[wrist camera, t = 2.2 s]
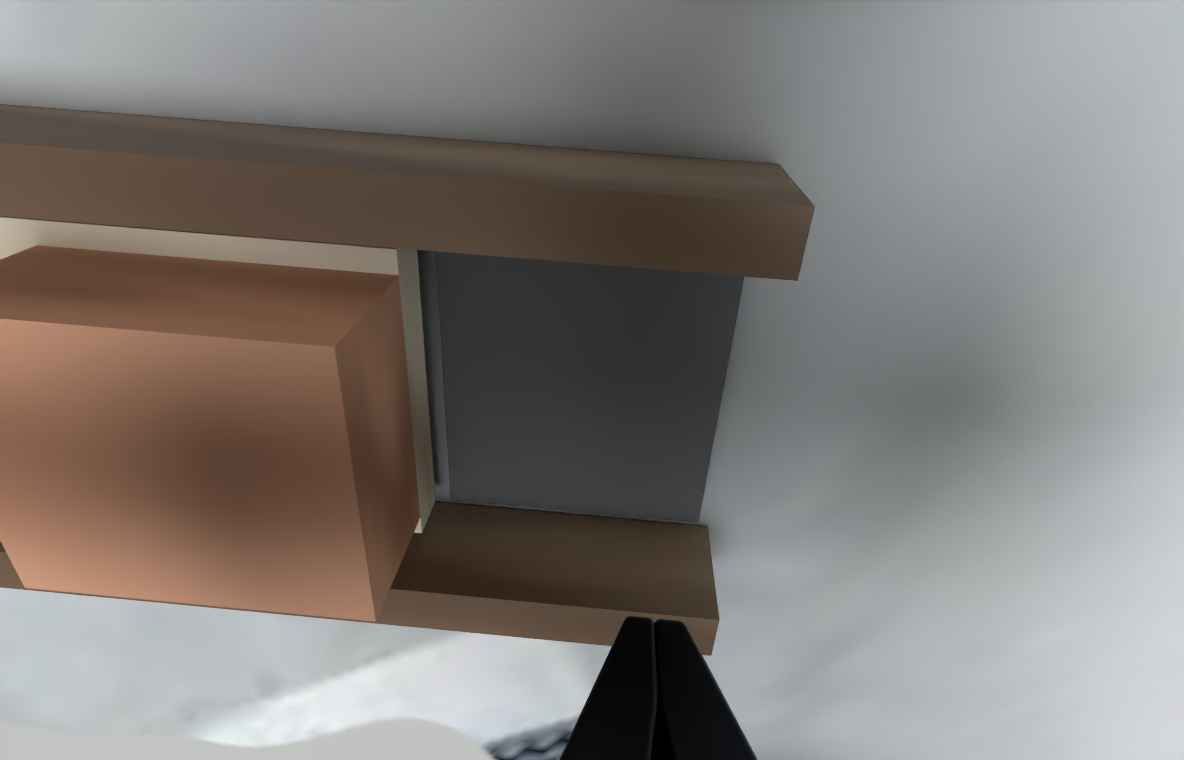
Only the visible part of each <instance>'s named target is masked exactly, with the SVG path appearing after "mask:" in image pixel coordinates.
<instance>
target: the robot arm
mask: <svg viewBox="0 0 1184 760" xmlns="http://www.w3.org/2000/svg"><path fill="white" fill-rule="evenodd" d="M559 760H757V758H756V756H755V754H754V752H753V750H752V748H751V747H750V745H749V743H748V741H747V739H746V737H745V735H744V733H743V731H742V730H741V728H740V726H739V724H738V722H737V720H736V718H735V716H734V714H733V712H732V711H731V709H730V707H729V705H728V703H727V701H726V699H725V697H724V695H723V694H722V692H721V690H720V688H719V686H718V684H717V682H716V680H715V678H714V677H713V675H712V673H711V671H710V669H709V667H708V665H707V663H706V661H705V660H704V658H703V656H702V654H701V652H700V650H699V648H698V646H697V644H696V642H695V641H694V639H693V637H692V635H691V633H690V631H689V629H688V627H687V626H686V624H685V623H684V622H682V621H678V620H668V619H658V620H656V622H654V620H653V619H651V618H647V617H636V616H628V617H626V618H625V620H624V622H623V624H622V626H621V628H620V630H619V632H618V634H617V637H616V639H615V641H614V643H613V645H612V647H611V650H610V652H609V654H608V656H607V658H606V660H605V662H604V665H603V667H602V669H601V671H600V673H599V675H598V678H597V680H596V682H595V684H594V686H593V688H592V690H591V693H590V695H589V697H588V699H587V701H586V703H585V706H584V708H583V710H582V712H581V714H580V716H579V719H578V721H577V723H576V725H575V727H574V729H573V731H572V734H571V736H570V738H569V740H568V742H567V744H566V747H565V749H564V751H563V753H562V755H561V757H560V759H559Z"/></svg>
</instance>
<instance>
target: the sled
mask: <svg viewBox="0 0 1184 760" xmlns="http://www.w3.org/2000/svg"><path fill="white" fill-rule="evenodd" d="M435 500H436V499H435V486H434V472H433V459H432V445H431V432H430V418H429V404H428V391H427V377H426V364H425V350H424V337H423V323H422V310H421V296H420V283H419V269H418V256H417V250H414V249H401V248H389V247H377V246H364V245H352V244H340V243H327V242H315V241H303V240H291V239H278V238H266V237H254V236H241V235H229V234H217V233H204V232H192V231H180V230H167V229H155V228H143V227H130V226H118V225H106V224H94V223H81V222H69V221H57V220H44V219H32V218H20V217H7V216H0V541H1V543H2V545H3V547H4V549H5V551H6V553H7V555H8V556H9V558H10V560H11V562H12V564H13V566H14V568H15V570H16V572H17V574H18V576H19V578H20V580H21V581H22V583H23V585H24V587H25V588H30V589H41V590H51V591H62V592H72V593H82V594H93V595H103V596H114V597H124V598H134V599H145V600H155V601H166V602H176V603H187V604H197V605H207V606H218V607H228V608H239V609H249V610H259V611H270V612H280V613H291V614H301V615H311V616H322V617H332V618H343V619H353V620H363V621H374V622H376V620H377V617H378V615H379V613H380V610H381V608H382V606H383V604H384V601H385V599H386V597H387V594H388V592H389V590H390V587H391V585H392V583H393V580H394V578H395V576H396V573H397V571H398V569H399V566H400V564H401V562H402V559H403V557H404V555H405V552H406V550H407V548H408V545H409V543H410V541H411V538H412V536H413V534H414V533H422V532H423V530H424V527H425V525H426V522H427V520H428V517H429V515H430V513H431V510H432V508H433V505H434V503H435Z"/></svg>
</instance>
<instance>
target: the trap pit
mask: <svg viewBox="0 0 1184 760" xmlns="http://www.w3.org/2000/svg"><path fill="white" fill-rule="evenodd" d="M436 261H437V278H438V294H439V311H440V328H441V345H442V362H443V379H444V396H445V413H446V430H447V447H448V463H449V480H450V497H451V500H459V501H470V502H481V503H492V504H503V505H514V506H525V507H536V508H547V509H558V510H569V511H580V512H591V513H602V514H613V515H624V516H635V517H646V518H657V519H668V520H679V521H690V522H698V521H699V515H700V510H701V505H702V499H703V494H704V489H705V483H706V478H707V473H708V467H709V462H710V457H711V451H712V446H713V441H714V435H715V430H716V425H717V419H718V414H719V408H720V403H721V398H722V392H723V387H724V382H725V376H726V371H727V366H728V360H729V355H730V350H731V344H732V339H733V334H734V328H735V323H736V318H737V312H738V307H739V302H740V296H741V291H742V286H743V280H744V276H734V275H722V274H709V273H697V272H685V271H672V270H660V269H648V268H635V267H623V266H611V265H598V264H586V263H574V262H561V261H549V260H537V259H525V258H512V257H500V256H488V255H475V254H463V253H451V252H438V251H436Z"/></svg>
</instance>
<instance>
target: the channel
mask: <svg viewBox="0 0 1184 760" xmlns="http://www.w3.org/2000/svg"><path fill="white" fill-rule="evenodd" d="M814 207H815V206H814V205H813V204H812V203H811V201H810V200H809V199H808V198H807V197H806V196H805V194H804V193H803V192H802V191H801V190H800V189H799V187H798V186H797V185H796V184H795V183H794V181H793V180H792V179H791V178H790V177H789V176H788V174H787V173H786V172H785V171H784V170H783V168H782V167H781V166H780V165H779V164H767V163H754V162H741V161H728V160H715V159H702V158H689V157H676V156H663V155H650V154H637V153H624V152H611V151H598V150H585V149H572V148H559V147H546V146H533V145H520V144H507V143H494V142H481V141H468V140H455V139H442V138H429V137H416V136H403V135H390V134H377V133H363V132H350V131H337V130H324V129H311V128H298V127H285V126H272V125H259V124H246V123H233V122H220V121H207V120H194V119H181V118H168V117H155V116H142V115H129V114H116V113H103V112H90V111H77V110H64V109H51V108H38V107H25V106H12V105H0V216H7V217H20V218H32V219H44V220H57V221H69V222H81V223H94V224H106V225H118V226H130V227H143V228H155V229H167V230H180V231H192V232H204V233H217V234H229V235H241V236H254V237H266V238H278V239H291V240H303V241H315V242H327V243H340V244H352V245H364V246H377V247H389V248H401V249H414V250H426V251H438V252H451V253H463V254H475V255H488V256H500V257H512V258H525V259H537V260H549V261H561V262H574V263H586V264H598V265H611V266H623V267H635V268H648V269H660V270H672V271H685V272H697V273H709V274H722V275H734V276H746V277H758V278H771V279H783V280H795V281H798V277H799V272H800V268H801V264H802V259H803V255H804V251H805V246H806V242H807V238H808V233H809V229H810V225H811V220H812V216H813V212H814ZM0 587H3V588H14V589H24V590H34V591H45V592H55V593H66V594H76V595H86V596H97V597H107V598H118V599H128V600H138V601H149V602H159V603H170V604H180V605H190V606H201V607H211V608H222V609H232V610H242V611H253V612H263V613H274V614H284V615H294V616H305V617H315V618H326V619H336V620H346V621H357V622H367V623H378V624H388V625H398V626H409V627H419V628H430V629H440V630H451V631H461V632H471V633H482V634H492V635H503V636H513V637H523V638H534V639H544V640H555V641H565V642H575V643H586V644H596V645H607V646H612V645H613V643H614V641H615V639H616V637H617V634H618V632H619V630H620V628H621V626H622V624H623V622H624V620H625V618H626V617H628V616H636V617H647V618H651V619H653V620H654V622H656V620H658V619H668V620H678V621H682V622H684V623H685V624H686V626H687V627H688V629H689V631H690V633H691V635H692V637H693V639H694V641H695V642H696V644H697V646H698V648H699V650H700V652H701V654H702V655H711V654H712V649H713V645H714V641H715V636H716V632H717V628H718V623H719V614H718V606H717V598H716V590H715V582H714V574H713V566H712V558H711V550H710V543H709V535H708V527H705V526H694V525H683V524H672V523H661V522H650V521H639V520H628V519H617V518H606V517H595V516H584V515H573V514H562V513H551V512H540V511H529V510H518V509H507V508H496V507H485V506H474V505H463V504H452V503H441V502H435V503H434V505H433V508H432V510H431V513H430V515H429V517H428V520H427V522H426V525H425V527H424V530H423V532H422V533H414V534H413V536H412V538H411V541H410V543H409V545H408V548H407V550H406V552H405V555H404V557H403V559H402V562H401V564H400V566H399V569H398V571H397V573H396V576H395V578H394V580H393V583H392V585H391V587H390V590H389V592H388V594H387V597H386V599H385V601H384V604H383V606H382V608H381V610H380V613H379V615H378V617H377V620H376V622H374V621H363V620H353V619H343V618H332V617H322V616H311V615H301V614H291V613H280V612H270V611H259V610H249V609H239V608H228V607H218V606H207V605H197V604H187V603H176V602H166V601H155V600H145V599H134V598H124V597H114V596H103V595H93V594H82V593H72V592H62V591H51V590H41V589H30V588H25V587H24V585H23V583H22V581H21V580H20V578H19V576H18V574H17V572H16V570H15V568H14V566H13V564H12V562H11V560H10V558H9V556H8V555H7V553H6V551H5V549H4V547H3V545H2V543H1V541H0Z"/></svg>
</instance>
